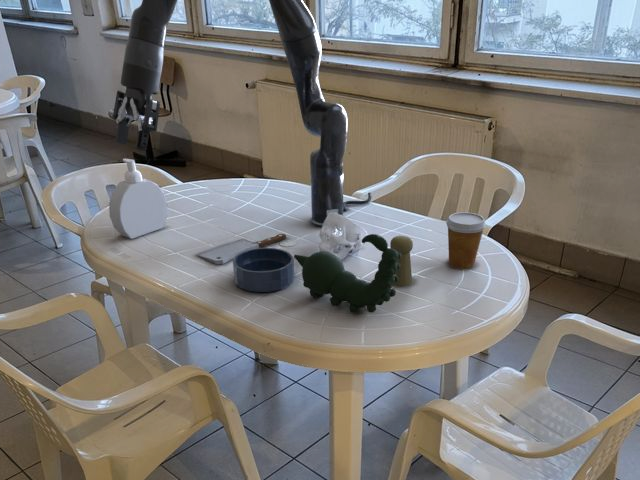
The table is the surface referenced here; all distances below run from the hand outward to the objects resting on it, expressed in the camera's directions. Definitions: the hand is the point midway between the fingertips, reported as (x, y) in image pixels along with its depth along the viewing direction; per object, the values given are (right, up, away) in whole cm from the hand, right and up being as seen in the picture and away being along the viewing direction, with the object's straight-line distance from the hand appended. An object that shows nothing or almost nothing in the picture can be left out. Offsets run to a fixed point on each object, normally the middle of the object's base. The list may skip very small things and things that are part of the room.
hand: (130, 146), depth 131 cm
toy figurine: (+45, -33, +6) cm, 57 cm away
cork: (+59, -27, +16) cm, 67 cm away
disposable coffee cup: (+75, -22, +24) cm, 82 cm away
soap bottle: (-11, -10, +44) cm, 46 cm away
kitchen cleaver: (+19, -16, +33) cm, 42 cm away
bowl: (+27, -27, +16) cm, 41 cm away
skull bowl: (+45, -18, +30) cm, 57 cm away
